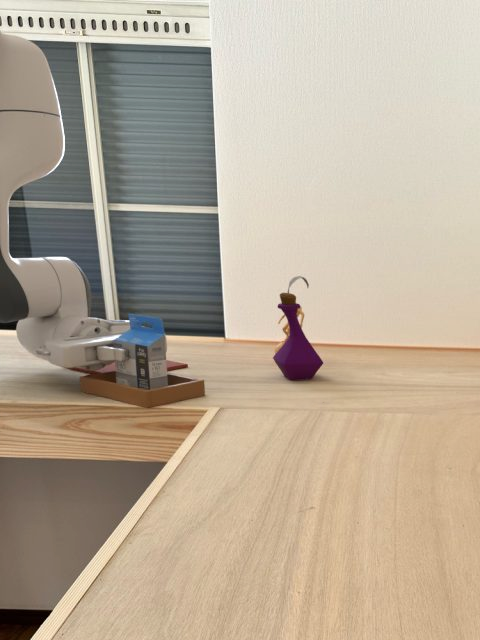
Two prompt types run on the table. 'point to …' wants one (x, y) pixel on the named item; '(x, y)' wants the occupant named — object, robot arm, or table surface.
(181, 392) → the frame
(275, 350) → the figurine
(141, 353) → the label tape box
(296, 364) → the perfume bottle
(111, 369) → the rubber mat
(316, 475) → the table surface
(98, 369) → the robot arm
